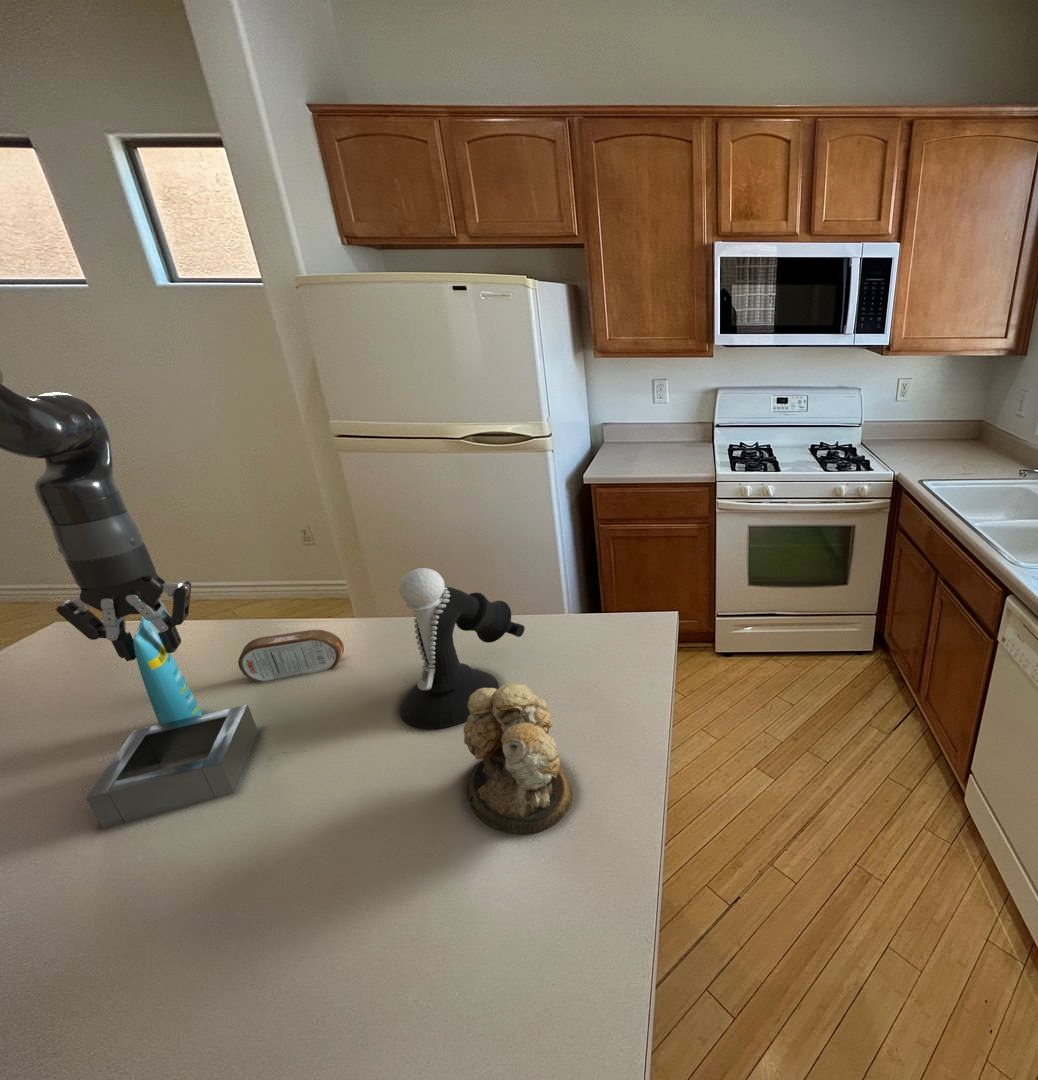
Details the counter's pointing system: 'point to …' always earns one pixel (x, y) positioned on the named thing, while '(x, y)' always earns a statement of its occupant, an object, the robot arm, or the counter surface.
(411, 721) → the sculpture
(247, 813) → the counter surface
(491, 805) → the owl figurine
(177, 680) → the tube
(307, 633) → the tin
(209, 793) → the stand
